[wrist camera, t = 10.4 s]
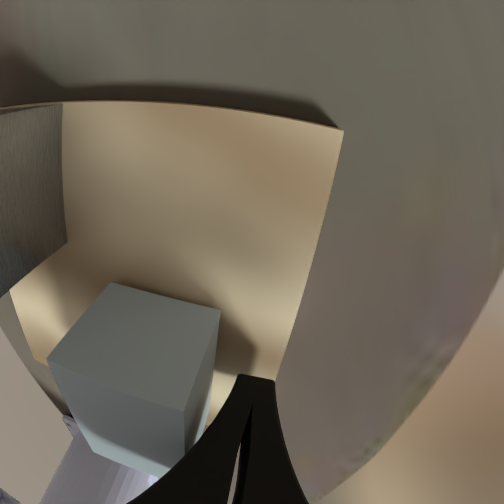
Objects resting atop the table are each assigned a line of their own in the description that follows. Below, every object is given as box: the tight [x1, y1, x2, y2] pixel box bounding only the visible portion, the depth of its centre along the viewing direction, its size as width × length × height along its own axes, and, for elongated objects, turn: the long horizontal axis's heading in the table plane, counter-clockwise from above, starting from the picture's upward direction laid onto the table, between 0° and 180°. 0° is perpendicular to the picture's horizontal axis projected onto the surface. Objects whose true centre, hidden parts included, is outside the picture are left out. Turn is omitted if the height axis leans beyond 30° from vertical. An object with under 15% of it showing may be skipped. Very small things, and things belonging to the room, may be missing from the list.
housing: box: [46, 282, 221, 478], centre depth 10 cm, size 6×4×4 cm, turn 171°
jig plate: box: [0, 100, 344, 425], centre depth 10 cm, size 14×14×4 cm
